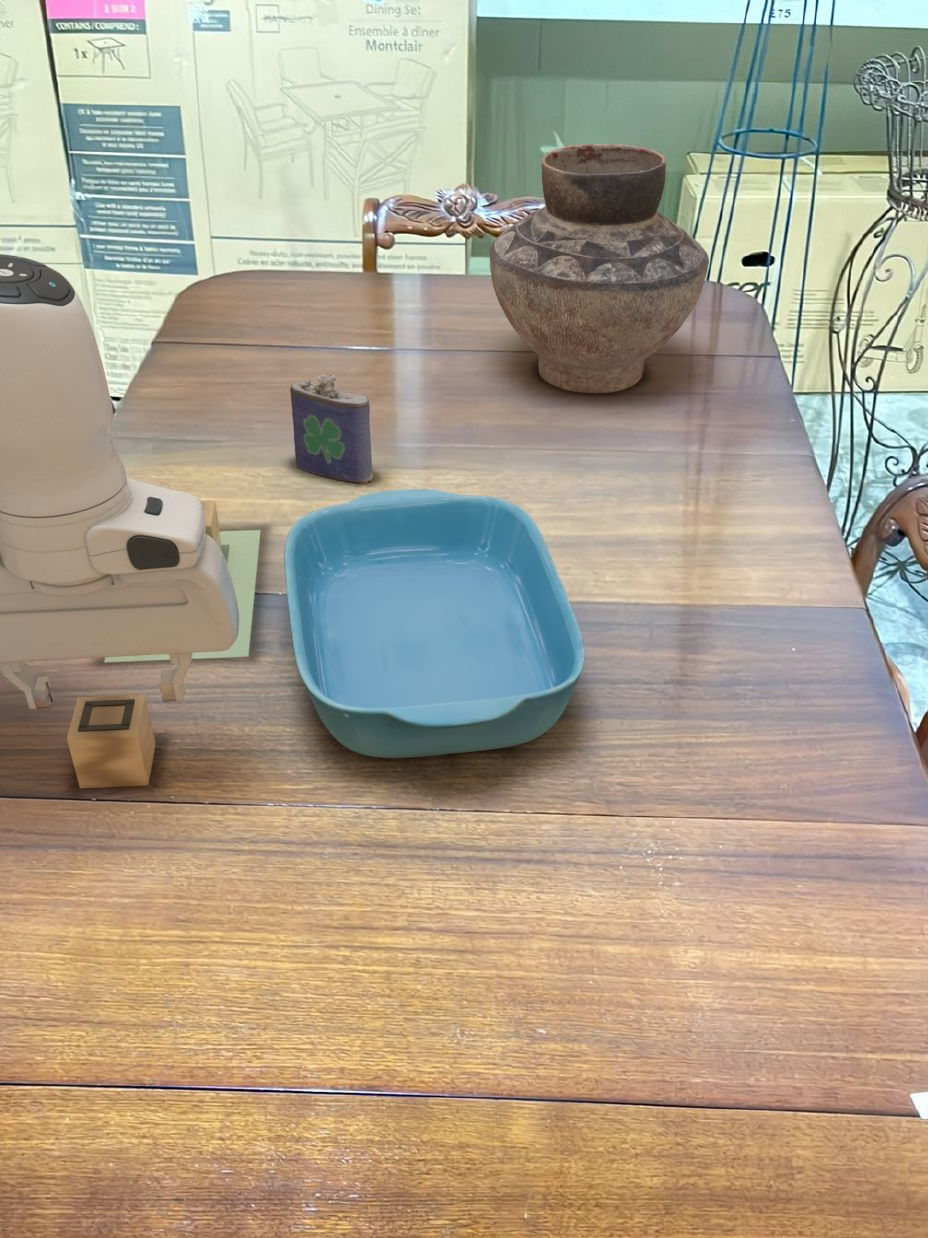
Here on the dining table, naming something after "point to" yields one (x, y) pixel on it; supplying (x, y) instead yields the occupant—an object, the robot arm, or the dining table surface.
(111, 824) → the dining table surface
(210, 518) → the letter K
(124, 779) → the letter O
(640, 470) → the dining table surface
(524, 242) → the ceramic pot
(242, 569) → the word mat
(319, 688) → the casserole dish
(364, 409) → the flask
